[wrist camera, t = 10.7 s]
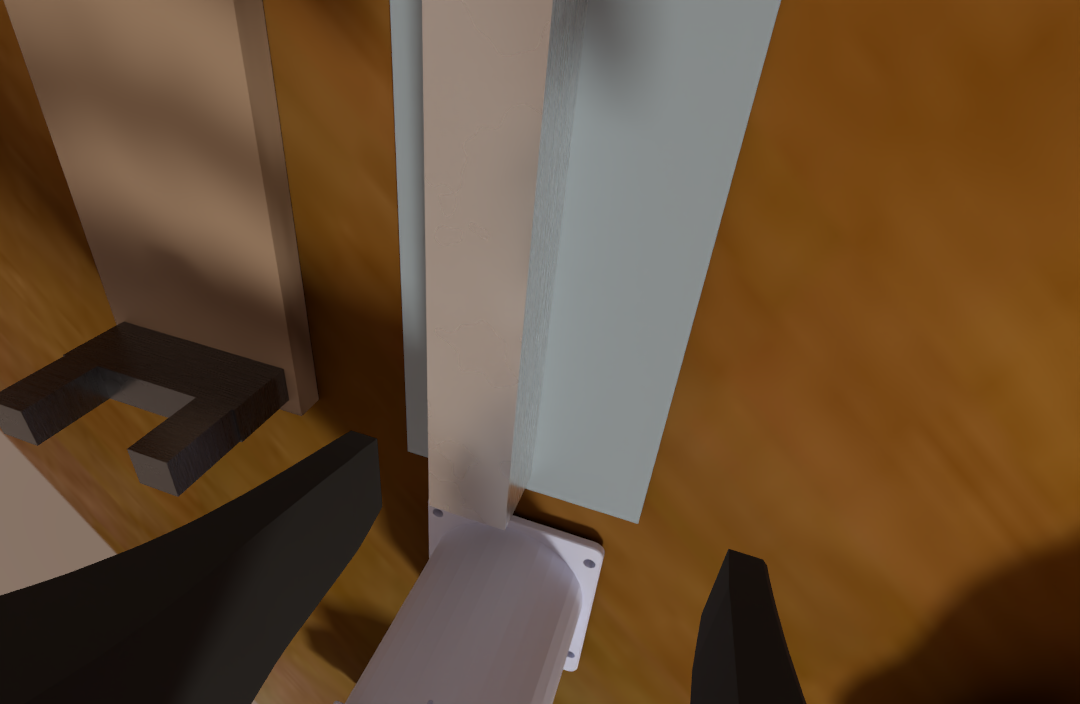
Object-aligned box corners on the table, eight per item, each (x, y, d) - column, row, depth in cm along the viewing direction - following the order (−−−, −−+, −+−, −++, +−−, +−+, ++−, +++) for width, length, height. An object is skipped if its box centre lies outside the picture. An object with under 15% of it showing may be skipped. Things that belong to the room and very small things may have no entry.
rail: (531, 474, 24) (504, 530, 22) (462, 453, 25) (428, 505, 23) (625, -317, 12) (587, -386, 10) (485, -320, 13) (416, -385, 10)
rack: (318, 399, 27) (197, 515, 21) (151, 348, 29) (-1, 442, 23) (215, -328, 14) (-141, -508, 9) (-66, -334, 16) (-507, -486, 11)
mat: (639, 516, 24) (637, 523, 24) (412, 445, 26) (407, 451, 26) (888, -396, 11) (891, -406, 11) (384, -393, 13) (373, -401, 13)
